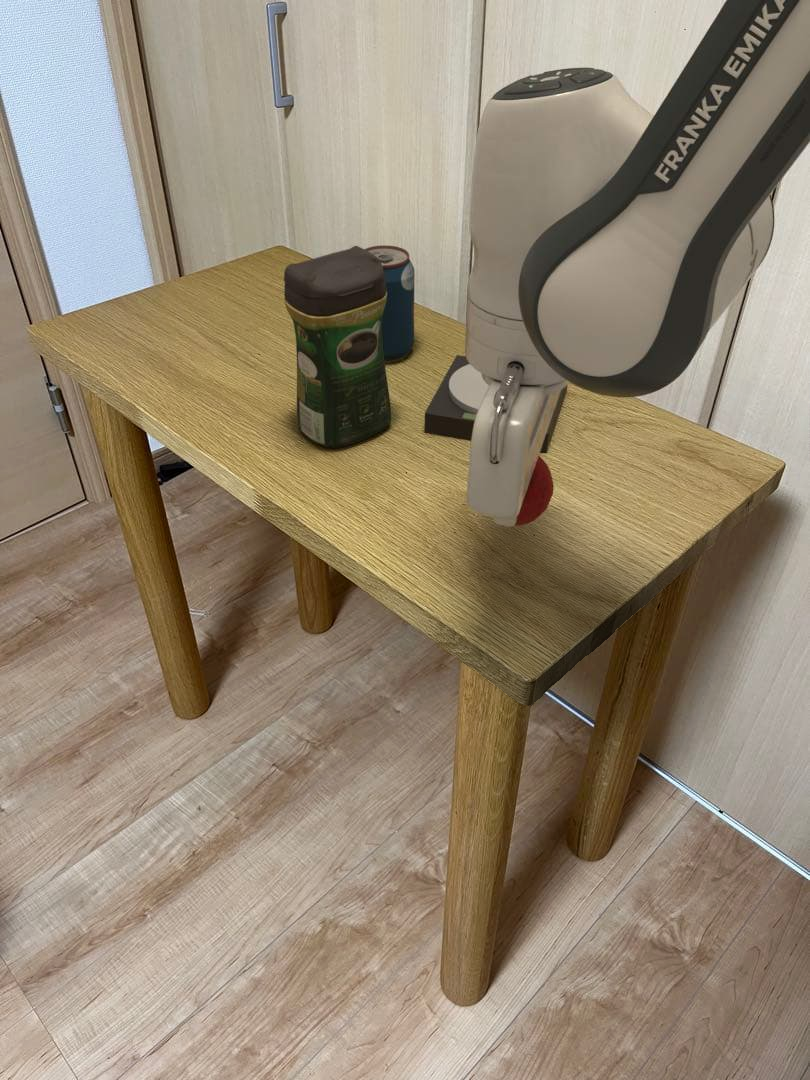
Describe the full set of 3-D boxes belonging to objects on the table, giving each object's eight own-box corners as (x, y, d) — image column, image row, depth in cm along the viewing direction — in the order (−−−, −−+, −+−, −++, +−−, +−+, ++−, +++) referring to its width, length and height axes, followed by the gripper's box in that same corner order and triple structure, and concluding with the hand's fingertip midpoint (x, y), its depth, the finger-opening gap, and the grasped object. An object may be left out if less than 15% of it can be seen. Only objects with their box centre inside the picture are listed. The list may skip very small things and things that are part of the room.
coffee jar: (361, 396, 95) (354, 232, 83) (402, 428, 90) (401, 258, 78) (285, 424, 91) (266, 255, 79) (324, 459, 86) (311, 284, 74)
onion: (552, 546, 67) (562, 464, 62) (479, 546, 68) (484, 464, 62) (544, 502, 72) (554, 421, 67) (476, 501, 72) (480, 421, 67)
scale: (566, 390, 96) (570, 365, 94) (546, 453, 87) (549, 426, 84) (455, 373, 99) (456, 348, 97) (424, 432, 90) (424, 406, 87)
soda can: (425, 351, 103) (427, 254, 95) (385, 371, 99) (384, 273, 91) (385, 332, 107) (383, 238, 99) (345, 352, 103) (340, 255, 95)
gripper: (547, 416, 50) (529, 585, 59) (595, 279, 65) (574, 431, 74) (445, 401, 52) (442, 568, 61) (514, 271, 67) (504, 420, 76)
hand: (515, 492), depth 68 cm, fingers closed on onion, 6 cm apart
